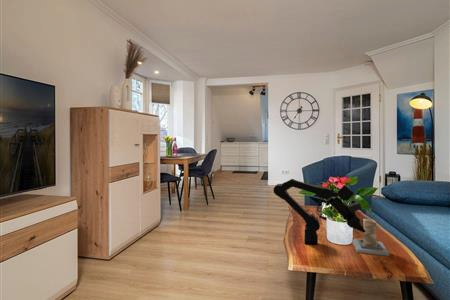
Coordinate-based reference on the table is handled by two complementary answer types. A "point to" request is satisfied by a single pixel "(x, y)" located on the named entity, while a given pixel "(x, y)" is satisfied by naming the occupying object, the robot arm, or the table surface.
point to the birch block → (369, 232)
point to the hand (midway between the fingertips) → (362, 228)
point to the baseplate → (370, 248)
